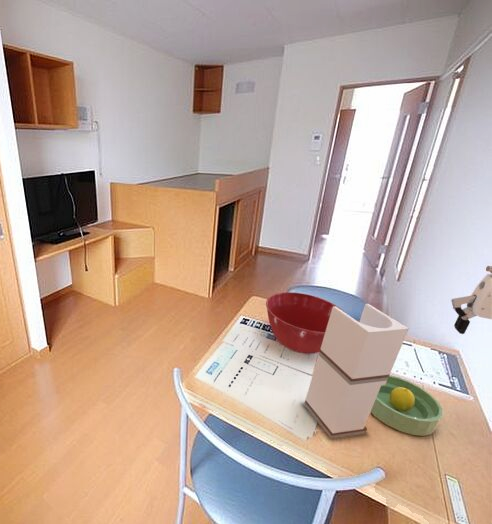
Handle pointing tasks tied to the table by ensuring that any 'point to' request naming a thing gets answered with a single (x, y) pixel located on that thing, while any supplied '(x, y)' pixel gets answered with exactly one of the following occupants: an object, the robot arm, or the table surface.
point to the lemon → (402, 399)
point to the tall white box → (352, 369)
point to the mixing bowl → (299, 320)
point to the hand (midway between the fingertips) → (483, 335)
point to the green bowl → (414, 420)
